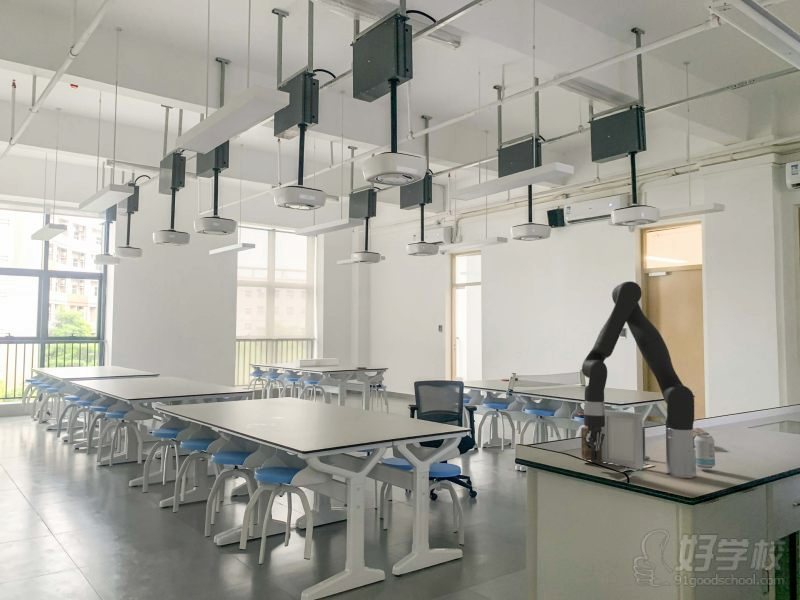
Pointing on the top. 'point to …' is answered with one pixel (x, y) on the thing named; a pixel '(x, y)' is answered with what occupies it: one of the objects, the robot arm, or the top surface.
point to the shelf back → (585, 451)
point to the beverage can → (704, 451)
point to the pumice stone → (698, 431)
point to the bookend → (644, 445)
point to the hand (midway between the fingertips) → (594, 460)
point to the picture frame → (623, 439)
